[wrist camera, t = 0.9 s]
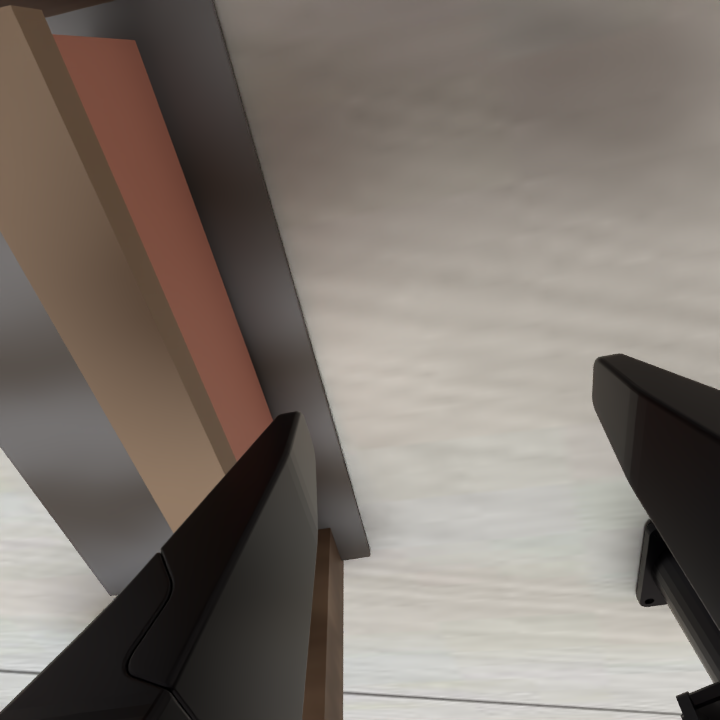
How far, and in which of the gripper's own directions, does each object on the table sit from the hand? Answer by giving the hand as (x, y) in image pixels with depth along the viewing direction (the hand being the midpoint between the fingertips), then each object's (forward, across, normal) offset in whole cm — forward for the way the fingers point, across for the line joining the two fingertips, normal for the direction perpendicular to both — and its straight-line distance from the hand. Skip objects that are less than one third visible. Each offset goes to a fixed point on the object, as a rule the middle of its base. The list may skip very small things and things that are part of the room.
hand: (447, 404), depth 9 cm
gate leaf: (+9, +7, +3) cm, 12 cm away
